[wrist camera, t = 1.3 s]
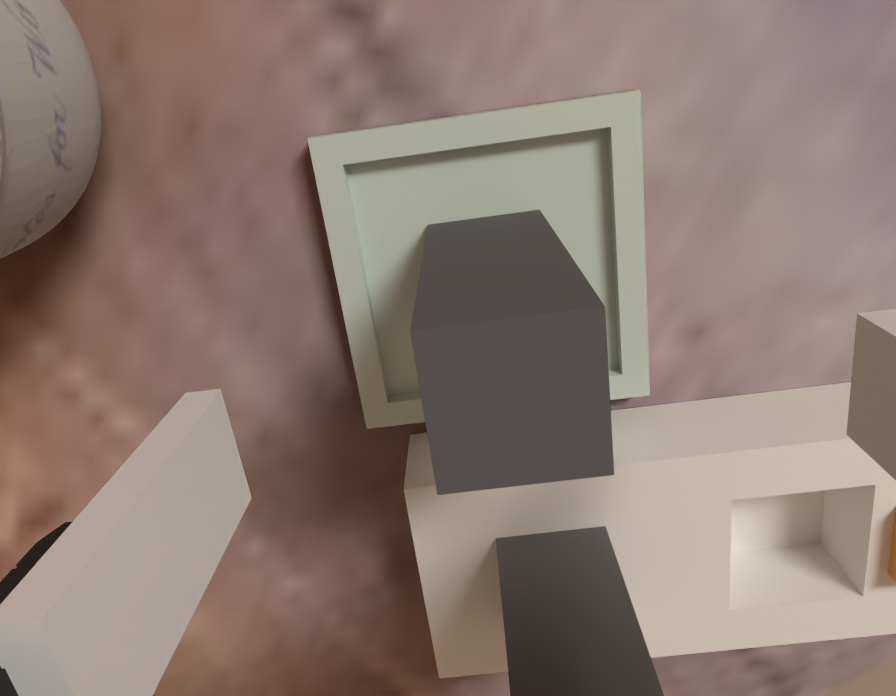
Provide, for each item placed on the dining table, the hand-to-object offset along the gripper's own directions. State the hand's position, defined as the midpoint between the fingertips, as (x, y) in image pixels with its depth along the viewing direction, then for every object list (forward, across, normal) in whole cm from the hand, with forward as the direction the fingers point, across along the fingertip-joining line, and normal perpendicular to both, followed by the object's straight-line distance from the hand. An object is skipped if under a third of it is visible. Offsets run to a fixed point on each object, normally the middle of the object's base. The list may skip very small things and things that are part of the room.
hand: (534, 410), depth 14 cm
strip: (+12, +6, -11) cm, 17 cm away
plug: (+11, 0, 0) cm, 11 cm away
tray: (+12, 0, 0) cm, 12 cm away
